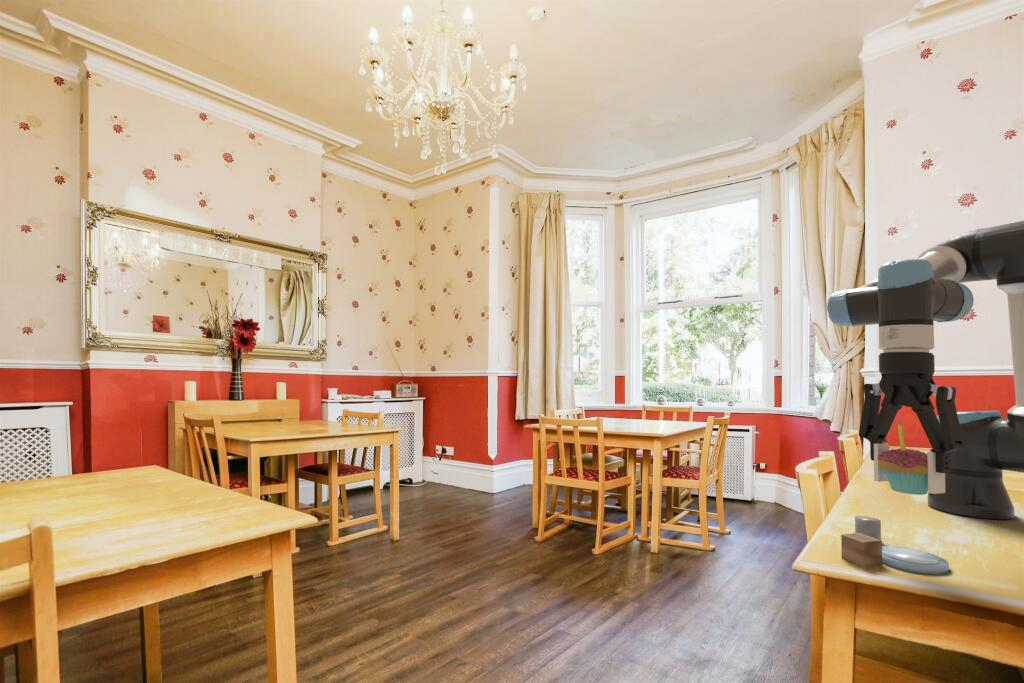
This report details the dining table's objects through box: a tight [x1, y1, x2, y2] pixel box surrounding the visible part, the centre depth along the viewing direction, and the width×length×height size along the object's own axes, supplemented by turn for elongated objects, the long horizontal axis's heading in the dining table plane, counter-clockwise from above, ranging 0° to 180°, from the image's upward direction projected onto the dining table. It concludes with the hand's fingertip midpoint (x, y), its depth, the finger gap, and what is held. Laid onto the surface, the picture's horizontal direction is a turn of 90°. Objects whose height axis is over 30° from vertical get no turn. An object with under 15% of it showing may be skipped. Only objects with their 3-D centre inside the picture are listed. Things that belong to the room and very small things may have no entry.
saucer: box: [882, 545, 950, 575], centre depth 86 cm, size 10×10×1 cm
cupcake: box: [877, 419, 928, 496], centre depth 87 cm, size 9×8×12 cm
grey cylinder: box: [854, 515, 882, 540], centre depth 97 cm, size 4×4×4 cm
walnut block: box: [840, 533, 883, 568], centre depth 86 cm, size 4×4×4 cm
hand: (908, 486), depth 87 cm, fingers closed on cupcake, 8 cm apart
